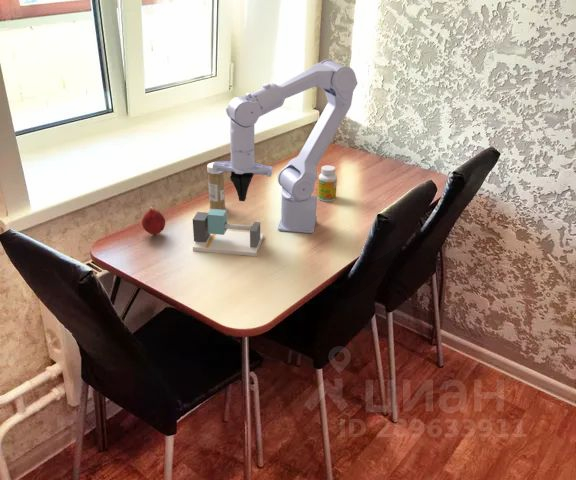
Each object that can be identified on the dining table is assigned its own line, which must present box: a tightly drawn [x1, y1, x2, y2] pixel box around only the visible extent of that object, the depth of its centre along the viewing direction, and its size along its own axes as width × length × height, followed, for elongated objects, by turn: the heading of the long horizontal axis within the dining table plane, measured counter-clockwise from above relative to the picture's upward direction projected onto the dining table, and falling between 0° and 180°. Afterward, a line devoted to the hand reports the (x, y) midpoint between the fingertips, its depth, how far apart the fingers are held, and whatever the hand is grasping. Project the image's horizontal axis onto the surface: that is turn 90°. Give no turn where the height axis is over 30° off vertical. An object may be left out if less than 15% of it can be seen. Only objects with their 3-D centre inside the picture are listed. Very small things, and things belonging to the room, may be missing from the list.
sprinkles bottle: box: [206, 161, 226, 211], centre depth 161 cm, size 5×5×14 cm
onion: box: [141, 206, 166, 236], centre depth 148 cm, size 6×6×8 cm
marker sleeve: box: [207, 209, 228, 235], centre depth 144 cm, size 4×3×5 cm
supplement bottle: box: [317, 164, 338, 203], centre depth 169 cm, size 5×5×10 cm
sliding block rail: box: [192, 211, 265, 257], centre depth 145 cm, size 16×10×7 cm, turn 81°
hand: (242, 199), depth 145 cm, fingers closed
